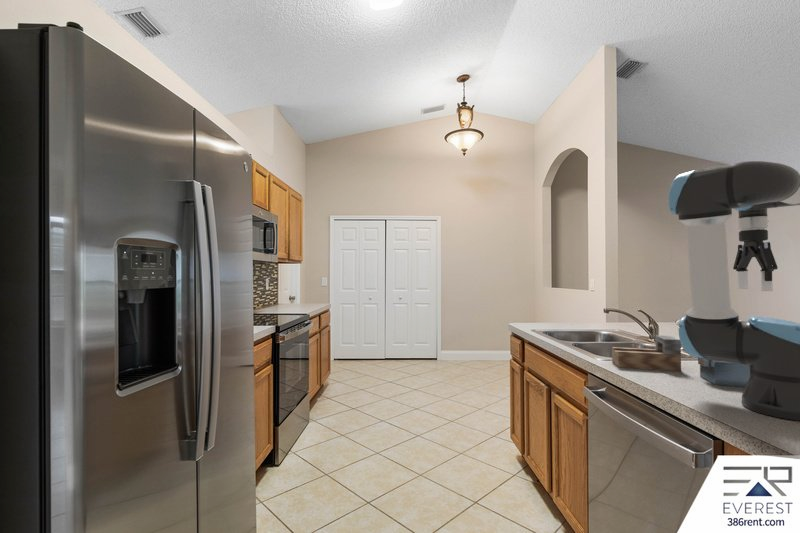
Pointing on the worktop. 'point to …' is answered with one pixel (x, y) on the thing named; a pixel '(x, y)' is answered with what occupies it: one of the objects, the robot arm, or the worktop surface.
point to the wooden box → (651, 355)
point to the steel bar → (704, 362)
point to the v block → (726, 373)
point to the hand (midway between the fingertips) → (754, 290)
